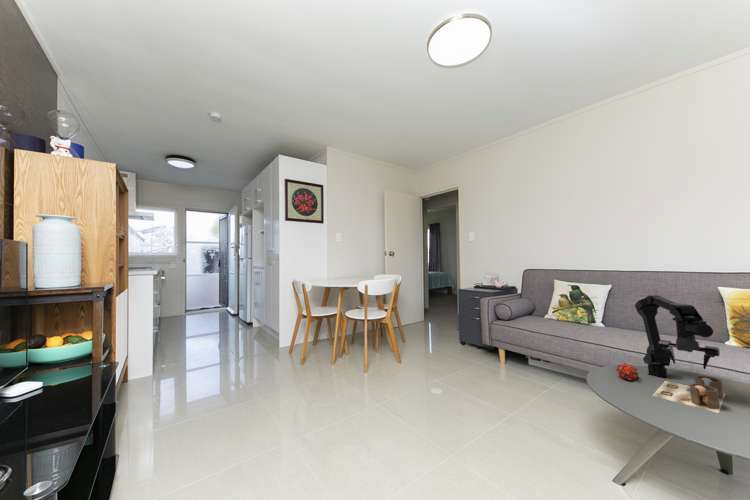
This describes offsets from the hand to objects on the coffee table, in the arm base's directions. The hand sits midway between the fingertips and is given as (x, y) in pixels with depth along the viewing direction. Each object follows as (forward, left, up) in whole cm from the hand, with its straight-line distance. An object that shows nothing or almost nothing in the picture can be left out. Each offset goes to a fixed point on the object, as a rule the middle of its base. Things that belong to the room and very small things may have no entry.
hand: (689, 366), depth 128 cm
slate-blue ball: (+6, +4, -7) cm, 10 cm away
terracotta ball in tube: (+5, -11, -12) cm, 17 cm away
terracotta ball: (+6, -11, -7) cm, 14 cm away
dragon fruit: (-22, -1, -13) cm, 25 cm away
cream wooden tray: (-1, -4, -12) cm, 13 cm away
